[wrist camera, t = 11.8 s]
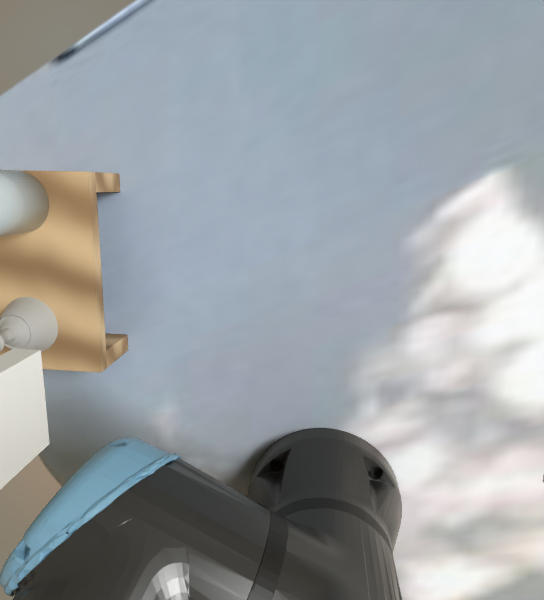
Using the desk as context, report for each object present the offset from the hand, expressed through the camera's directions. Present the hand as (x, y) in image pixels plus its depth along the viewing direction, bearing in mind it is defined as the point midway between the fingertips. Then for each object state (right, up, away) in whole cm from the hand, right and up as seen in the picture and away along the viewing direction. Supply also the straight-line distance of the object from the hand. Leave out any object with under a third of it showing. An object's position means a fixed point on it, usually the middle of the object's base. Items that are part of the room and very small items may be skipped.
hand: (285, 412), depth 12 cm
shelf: (-20, +6, +35) cm, 41 cm away
